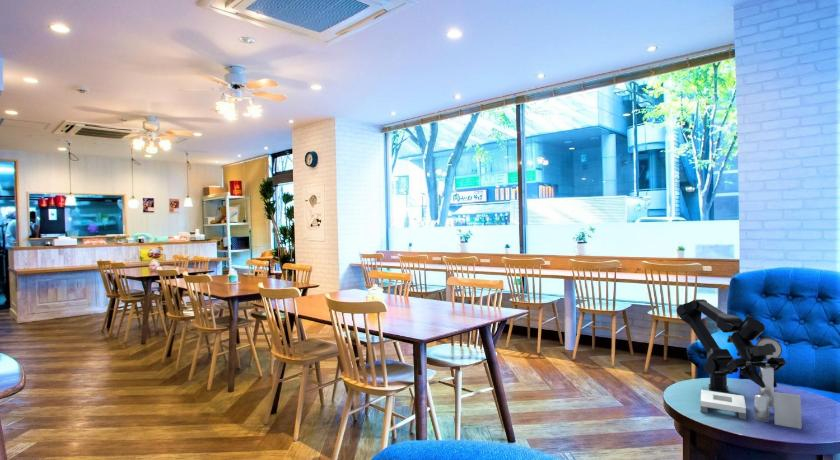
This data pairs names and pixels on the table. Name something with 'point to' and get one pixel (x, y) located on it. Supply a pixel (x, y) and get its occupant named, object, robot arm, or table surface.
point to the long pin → (767, 383)
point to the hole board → (723, 402)
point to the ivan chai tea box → (787, 410)
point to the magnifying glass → (775, 344)
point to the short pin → (761, 407)
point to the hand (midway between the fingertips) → (769, 387)
